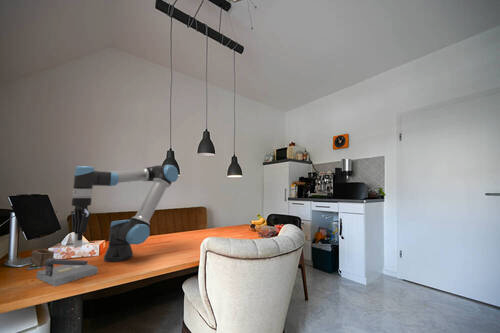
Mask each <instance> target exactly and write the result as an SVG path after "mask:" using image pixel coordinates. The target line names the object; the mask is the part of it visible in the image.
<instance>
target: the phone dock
mask: <svg viewBox="0 0 500 333" xmlns="http://www.w3.org/2000/svg"><path fill="white" fill-rule="evenodd" d="M54 254H55V252H54V251H53V250H49V249H45V248H42V249H36V250H34V249H33V250H31V255H30V262H31V263H32V264H34V265H36V266H38V267H44V266H47V265H45V264H46V260H47V259H51V258H54V256H55V255H54ZM32 264H30V266H31V265H32Z"/></svg>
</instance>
